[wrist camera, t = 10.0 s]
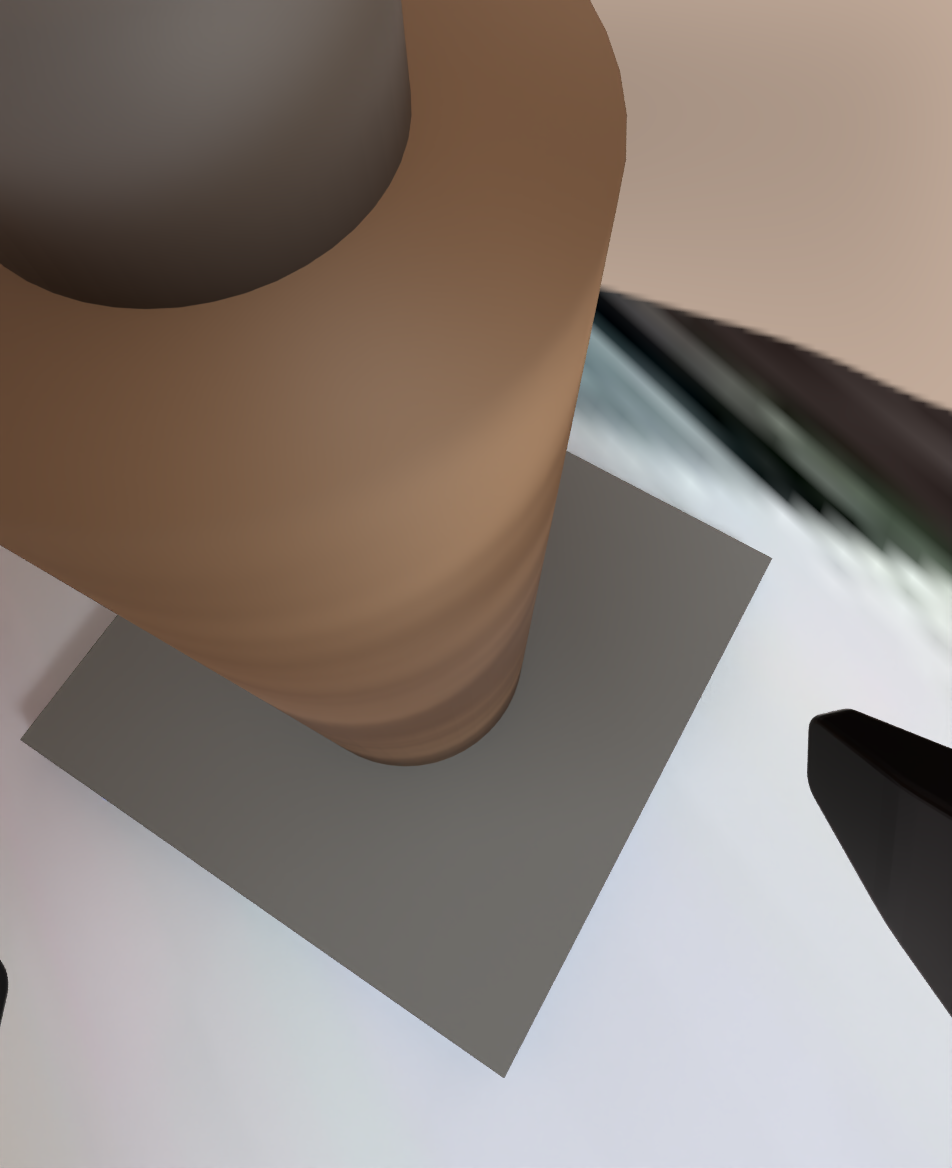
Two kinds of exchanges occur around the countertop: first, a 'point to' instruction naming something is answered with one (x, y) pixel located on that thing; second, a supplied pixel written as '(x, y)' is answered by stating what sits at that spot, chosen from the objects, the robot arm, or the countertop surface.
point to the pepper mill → (304, 333)
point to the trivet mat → (436, 771)
